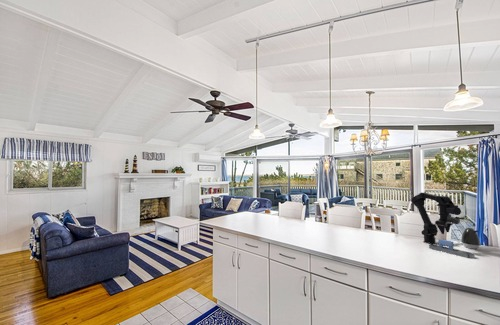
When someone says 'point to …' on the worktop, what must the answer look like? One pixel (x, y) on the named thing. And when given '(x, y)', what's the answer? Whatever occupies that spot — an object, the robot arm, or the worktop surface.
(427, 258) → the worktop surface
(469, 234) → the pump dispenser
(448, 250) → the rail
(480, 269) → the worktop surface
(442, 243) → the blue notched pillar
